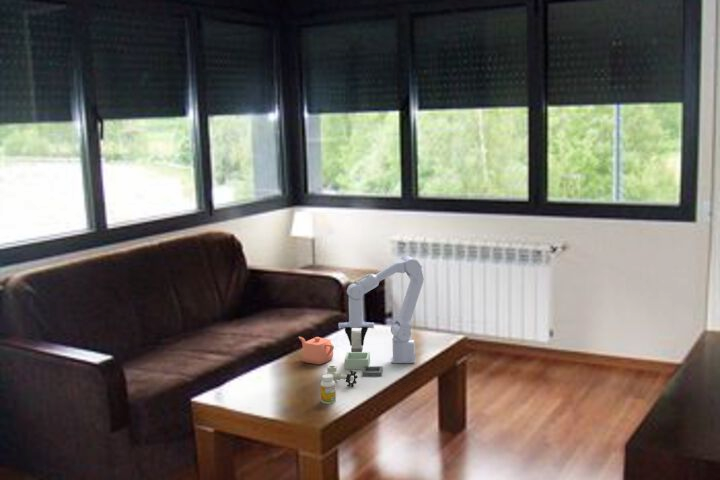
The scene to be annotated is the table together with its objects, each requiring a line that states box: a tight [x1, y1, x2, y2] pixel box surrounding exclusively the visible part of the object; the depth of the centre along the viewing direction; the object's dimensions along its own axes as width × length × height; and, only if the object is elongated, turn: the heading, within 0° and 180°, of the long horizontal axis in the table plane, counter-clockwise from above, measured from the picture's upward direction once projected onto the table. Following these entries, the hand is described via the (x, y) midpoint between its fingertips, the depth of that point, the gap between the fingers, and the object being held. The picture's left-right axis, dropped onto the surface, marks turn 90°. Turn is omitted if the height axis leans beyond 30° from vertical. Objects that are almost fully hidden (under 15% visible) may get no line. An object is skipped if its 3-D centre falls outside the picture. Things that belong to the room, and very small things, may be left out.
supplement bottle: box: [320, 373, 337, 405], centre depth 284 cm, size 5×5×10 cm
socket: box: [362, 365, 384, 377], centre depth 314 cm, size 8×8×2 cm
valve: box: [326, 364, 358, 388], centre depth 302 cm, size 7×7×12 cm
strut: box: [350, 330, 364, 352], centre depth 323 cm, size 4×4×8 cm
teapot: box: [298, 336, 335, 365], centre depth 331 cm, size 12×18×10 cm, turn 57°
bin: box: [344, 351, 371, 370], centre depth 324 cm, size 10×10×4 cm
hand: (356, 344), depth 323 cm, fingers closed on strut, 4 cm apart
